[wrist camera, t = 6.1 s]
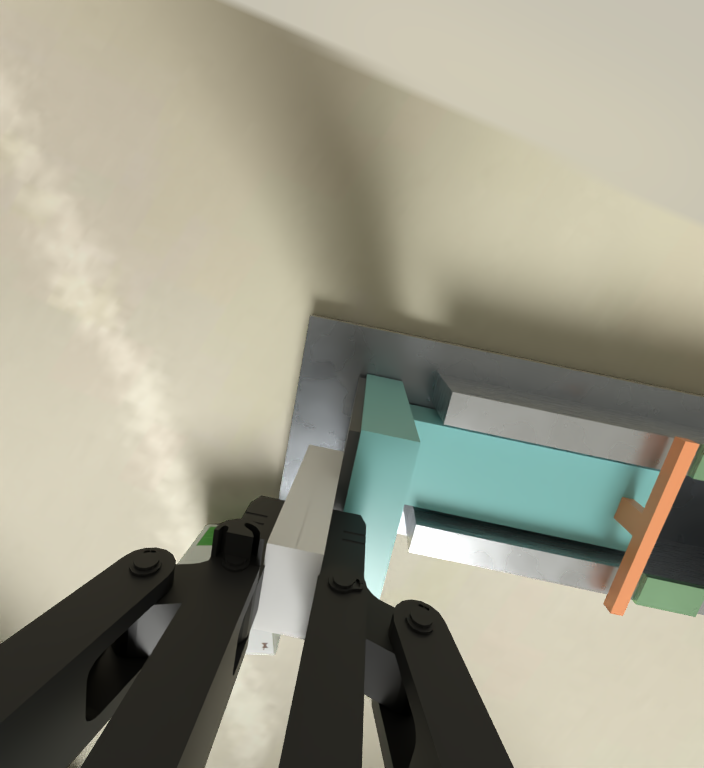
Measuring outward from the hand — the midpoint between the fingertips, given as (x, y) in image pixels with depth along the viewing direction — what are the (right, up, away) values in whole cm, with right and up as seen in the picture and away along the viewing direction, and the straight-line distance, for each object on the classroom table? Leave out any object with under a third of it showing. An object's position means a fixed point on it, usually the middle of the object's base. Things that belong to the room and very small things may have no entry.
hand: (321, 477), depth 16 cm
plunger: (+9, 0, +6) cm, 11 cm away
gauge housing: (+11, -1, +7) cm, 13 cm away
